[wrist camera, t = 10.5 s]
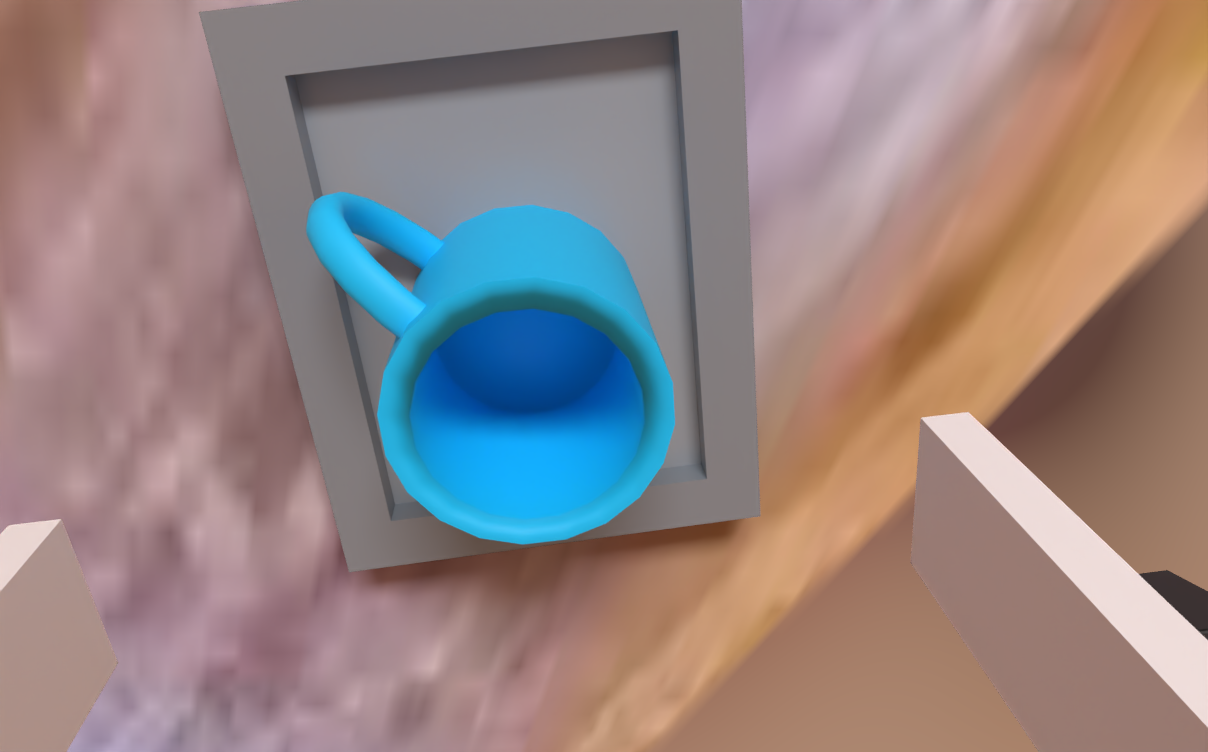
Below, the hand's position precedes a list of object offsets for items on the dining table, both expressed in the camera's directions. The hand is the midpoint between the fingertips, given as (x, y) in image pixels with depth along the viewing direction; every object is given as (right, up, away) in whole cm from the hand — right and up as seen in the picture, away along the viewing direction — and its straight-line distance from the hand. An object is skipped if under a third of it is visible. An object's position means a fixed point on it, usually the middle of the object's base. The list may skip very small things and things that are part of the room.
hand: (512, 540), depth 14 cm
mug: (-3, +6, +18) cm, 19 cm away
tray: (-2, +6, +19) cm, 20 cm away
